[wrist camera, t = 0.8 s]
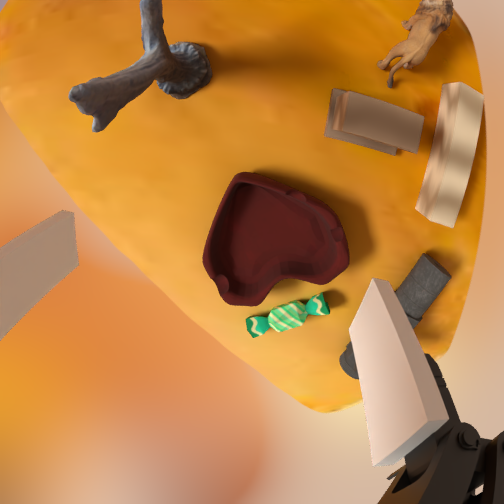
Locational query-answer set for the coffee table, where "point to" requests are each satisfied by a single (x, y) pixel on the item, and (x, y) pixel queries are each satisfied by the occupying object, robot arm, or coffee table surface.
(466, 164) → the block
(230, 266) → the ashtray
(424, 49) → the lion figurine
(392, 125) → the pedestal
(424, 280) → the laser sight
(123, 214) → the coffee table surface
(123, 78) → the antler
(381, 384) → the robot arm
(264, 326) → the candy
